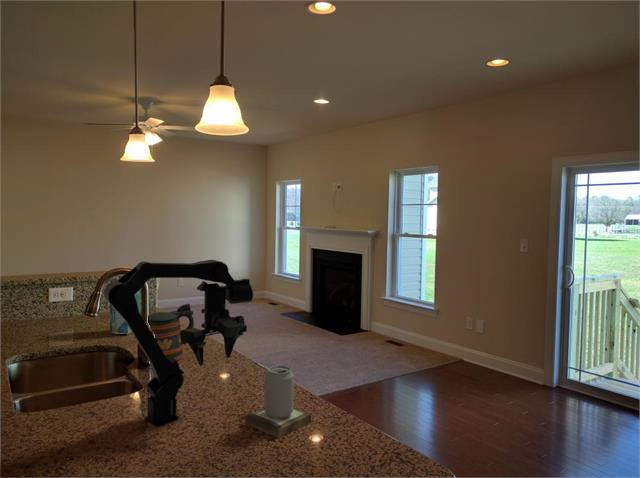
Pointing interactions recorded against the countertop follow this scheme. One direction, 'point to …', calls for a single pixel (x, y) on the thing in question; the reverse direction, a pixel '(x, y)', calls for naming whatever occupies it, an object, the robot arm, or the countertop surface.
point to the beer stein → (170, 330)
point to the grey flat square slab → (277, 422)
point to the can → (279, 392)
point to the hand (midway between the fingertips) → (214, 361)
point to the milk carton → (121, 318)
